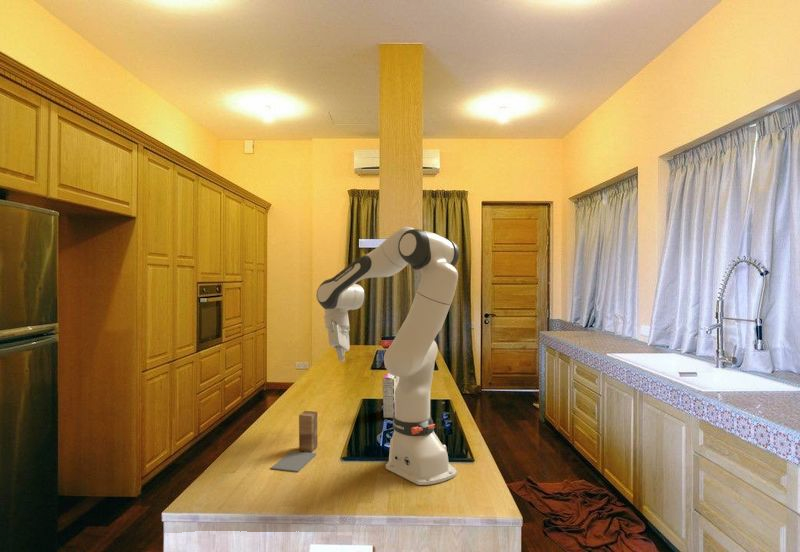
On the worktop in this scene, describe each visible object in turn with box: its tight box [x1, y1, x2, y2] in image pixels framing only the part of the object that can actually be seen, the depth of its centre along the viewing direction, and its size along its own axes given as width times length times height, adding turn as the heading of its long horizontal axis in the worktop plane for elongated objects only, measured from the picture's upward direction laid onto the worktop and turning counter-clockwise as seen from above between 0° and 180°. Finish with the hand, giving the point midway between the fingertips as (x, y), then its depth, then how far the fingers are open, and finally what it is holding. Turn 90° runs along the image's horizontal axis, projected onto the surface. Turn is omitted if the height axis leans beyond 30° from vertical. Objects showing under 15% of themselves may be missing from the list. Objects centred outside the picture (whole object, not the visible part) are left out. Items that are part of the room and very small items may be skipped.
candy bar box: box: [382, 371, 399, 419], centre depth 185 cm, size 11×5×16 cm, turn 168°
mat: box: [270, 450, 317, 473], centre depth 139 cm, size 13×9×1 cm
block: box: [298, 410, 318, 453], centre depth 149 cm, size 5×4×12 cm
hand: (341, 361), depth 161 cm, fingers closed
